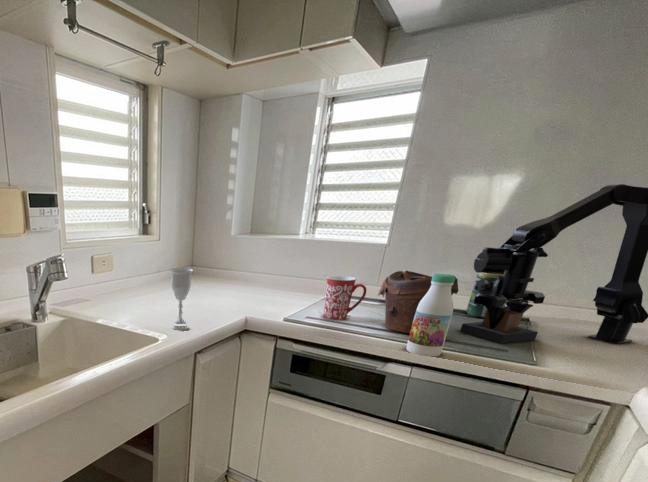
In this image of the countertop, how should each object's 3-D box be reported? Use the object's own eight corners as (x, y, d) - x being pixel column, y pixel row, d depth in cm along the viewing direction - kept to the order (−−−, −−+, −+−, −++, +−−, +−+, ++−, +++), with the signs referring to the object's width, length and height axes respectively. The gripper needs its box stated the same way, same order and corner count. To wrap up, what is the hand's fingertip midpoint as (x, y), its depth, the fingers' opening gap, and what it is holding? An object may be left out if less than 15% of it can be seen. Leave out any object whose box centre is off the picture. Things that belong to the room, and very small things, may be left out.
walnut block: (492, 331, 122) (500, 306, 119) (514, 337, 116) (524, 311, 113) (479, 332, 121) (487, 307, 118) (501, 338, 115) (510, 312, 112)
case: (380, 318, 138) (392, 264, 131) (450, 329, 125) (468, 270, 118) (363, 328, 126) (375, 270, 119) (438, 342, 113) (457, 277, 106)
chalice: (165, 325, 130) (166, 268, 123) (183, 323, 132) (185, 267, 125) (175, 331, 123) (176, 272, 116) (194, 329, 126) (197, 270, 119)
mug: (319, 318, 137) (325, 278, 132) (321, 313, 144) (328, 274, 139) (360, 323, 132) (368, 281, 126) (360, 317, 139) (368, 277, 134)
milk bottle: (408, 345, 110) (427, 271, 102) (442, 351, 106) (465, 274, 98) (403, 353, 105) (423, 275, 97) (438, 359, 100) (462, 278, 92)
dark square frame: (491, 328, 125) (493, 320, 124) (534, 340, 114) (538, 331, 113) (460, 331, 123) (462, 323, 122) (501, 343, 112) (504, 335, 111)
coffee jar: (462, 311, 146) (478, 258, 138) (489, 313, 143) (507, 259, 136) (469, 317, 137) (487, 262, 130) (498, 320, 135) (518, 263, 127)
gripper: (512, 268, 121) (495, 318, 127) (463, 270, 117) (448, 322, 123) (555, 273, 111) (534, 328, 117) (503, 276, 107) (484, 333, 113)
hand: (499, 327), depth 117 cm, fingers closed on walnut block, 5 cm apart
